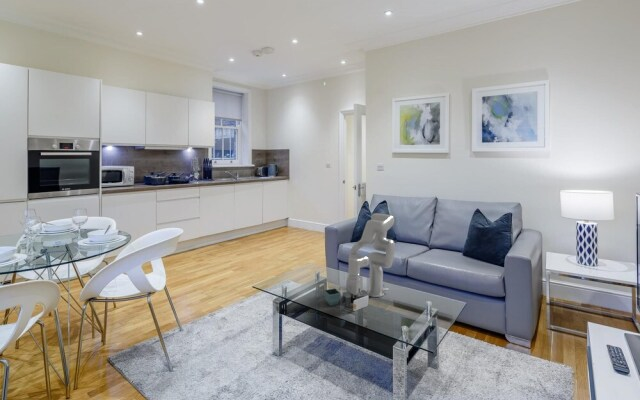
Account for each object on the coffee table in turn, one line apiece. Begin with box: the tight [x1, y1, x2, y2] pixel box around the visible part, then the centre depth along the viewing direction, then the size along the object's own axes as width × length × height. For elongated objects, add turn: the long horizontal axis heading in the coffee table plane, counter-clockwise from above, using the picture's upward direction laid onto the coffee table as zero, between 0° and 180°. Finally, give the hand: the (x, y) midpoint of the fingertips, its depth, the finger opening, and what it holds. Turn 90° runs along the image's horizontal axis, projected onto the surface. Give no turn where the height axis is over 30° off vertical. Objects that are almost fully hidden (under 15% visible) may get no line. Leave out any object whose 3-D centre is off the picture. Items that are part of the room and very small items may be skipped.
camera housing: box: [341, 289, 370, 308], centre depth 240 cm, size 17×9×8 cm, turn 104°
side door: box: [352, 296, 370, 312], centre depth 233 cm, size 14×2×7 cm, turn 129°
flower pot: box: [323, 288, 341, 307], centre depth 239 cm, size 9×9×9 cm
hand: (353, 302), depth 232 cm, fingers closed
